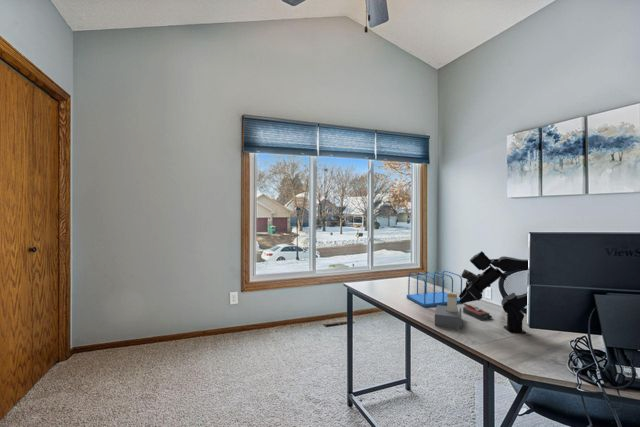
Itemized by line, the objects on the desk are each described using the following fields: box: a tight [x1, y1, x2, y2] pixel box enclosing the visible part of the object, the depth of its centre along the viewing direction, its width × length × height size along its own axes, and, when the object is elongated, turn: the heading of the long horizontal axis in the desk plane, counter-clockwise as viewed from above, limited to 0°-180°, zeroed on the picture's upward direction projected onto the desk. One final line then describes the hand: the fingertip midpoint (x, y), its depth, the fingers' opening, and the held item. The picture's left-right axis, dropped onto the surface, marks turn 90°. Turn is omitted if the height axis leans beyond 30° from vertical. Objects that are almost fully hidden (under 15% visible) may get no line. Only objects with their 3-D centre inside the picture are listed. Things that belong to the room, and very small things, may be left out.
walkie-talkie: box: [462, 303, 493, 320], centre depth 162 cm, size 9×4×20 cm
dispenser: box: [434, 305, 463, 330], centre depth 150 cm, size 11×14×6 cm
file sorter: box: [406, 270, 463, 308], centre depth 182 cm, size 25×17×15 cm
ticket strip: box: [446, 292, 458, 313], centre depth 149 cm, size 4×1×13 cm, turn 67°
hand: (459, 299), depth 148 cm, fingers open, 9 cm apart
